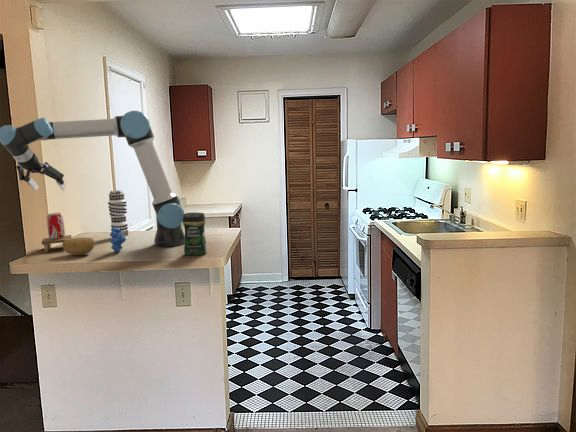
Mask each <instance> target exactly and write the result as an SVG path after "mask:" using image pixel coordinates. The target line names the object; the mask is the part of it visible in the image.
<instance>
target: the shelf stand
mask: <svg viewBox="0 0 576 432" xmlns="http://www.w3.org/2000/svg"><path fill="white" fill-rule="evenodd" d="M47 237H48V238H44V237H43V238H42V241H41V245H43V250H44V253H49V252H50V250H49V249H51V245H52V244H63V242H64V241H65V240H67V239H71V238H72V235H71V234H69V235H68V234H65V236H64V237H63V238H62V239H51V238H49V236H47Z"/></svg>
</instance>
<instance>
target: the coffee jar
mask: <svg viewBox="0 0 576 432" xmlns="http://www.w3.org/2000/svg"><path fill="white" fill-rule="evenodd" d="M205 224H206V216H205V213H204V212H184V215H183V222H182V225H183V227H184V235H185V244H183V245H184V249H183V250H184V255H186V256H202V255H205V254H206V253H207V252H208V248H207V247H208V246H207V241H206V232H205Z"/></svg>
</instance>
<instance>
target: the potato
mask: <svg viewBox="0 0 576 432" xmlns="http://www.w3.org/2000/svg"><path fill="white" fill-rule="evenodd" d="M61 244H62V245H61V246H62V248H63V250H64V251H65V253H67V254H69V255H73V256H78V255H79V256H84V255H87V254H89V253H91V252H92V251H93V249H94V247H95V244H96V243H95V239H94V238H91V237H85V236H84V237H83V236H80V237H79V236H78V237H75V238H74V237H71V239H67V240H65V241H64V242H63V243H61Z"/></svg>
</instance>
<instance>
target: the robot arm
mask: <svg viewBox="0 0 576 432" xmlns="http://www.w3.org/2000/svg"><path fill="white" fill-rule="evenodd" d="M112 136H115V137H117V138H125V140H126V142H127V144H128V146H129V147H131V148H132V149H133V150H134V152H135V155H136V158H137V160H138V163H139V165H140V168H141V170H142V173H143V175H144V178H145V180H146V183H147V186H148V188H149V190H150V193H151V196H152V198H153V200H152V202H151V204H152V208H153V209H154V212H155V217H156V232H155V236H154V241H153V243H154V245H155V246H156V247H162V248H163V247H177V246H181V245H185V231H184V230H183V227H182V224H183V215H184V214H185V211H184V209H183V207H182V205H181V200H180V197H179V196H178V195H177V194H176V193H174V192H173V191H172V189H171V186H170V184H169V181H168V178H167V176H166V174H165V171H164V167H163V165H162V162H161V160H160V157H159V155H158V153H157V150H156V147H155V145H154V139H155V135H154V131H153V130H152V127H151V122H150V120H149V118H148V116H147V115H146V114H145V113H143V112H142V111H139V110H129V111H128V112H125V113H124V114H123V115H116V116H114V117H113V118H102V119H101V118H100V119H82V120H69V121H68V120H66V121H65V120H63V121H48V119H47V118H46V117H39V118H37V119H34V120H32V121H30V122H28V123H25V124H23V125H21V126H18V127H14V125H11V124H7V125H3V126H1V127H0V143H1V145H2V146H3V147H4V148H5V149H6V150H7V151H8V153H9V154H10V156H12V157H13V159H14V160H15V161H16V162H17V165H16V169H17V171H18V178H19V180H20V181H24V182H26V183H27V184H28V185H29V186H30V187H31V188H32V189H33V190H34V191H35V192H37V191H38V189H39V188H40V186H39V185H38V184H37V182H36V181H35V180H34V178H33V177H30V176H31V173H32V174H41V175H45V176H46V177H49V178H51V179H53V180H55V182H56V184H57V185H58V186H59V188H60V189H61V190H62V191H65V190H66V188H67V186H66V184H65V181H64V179H63V178H64V177H65V176H64V175H65V174H63V173H62V172H61V171H60V170H57V169H56V168H54V167H53V166H51V165H50V164H49V163H48V162H47V161H45V162H44V163H41V161H39V158H38V156H37V155H36V153H34V151H33V150H32V148H31V147H30V146H29V145H30V144H32V143H35V142H37V141H39V140H40V141H47V140H48V141H49V140H60V139H61V140H62V139H63V140H64V139H79V138H81V139H82V138H96V137H98V138H99V137H112ZM25 170H26V172H25Z"/></svg>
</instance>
